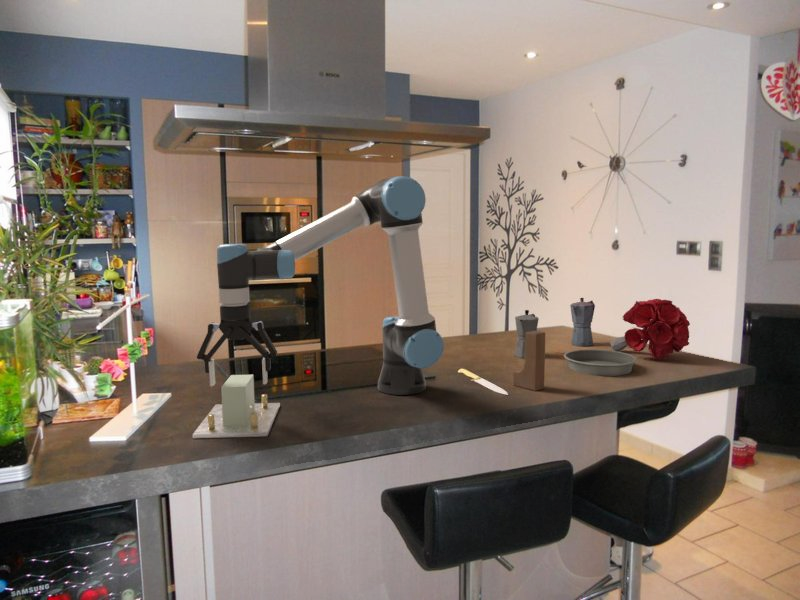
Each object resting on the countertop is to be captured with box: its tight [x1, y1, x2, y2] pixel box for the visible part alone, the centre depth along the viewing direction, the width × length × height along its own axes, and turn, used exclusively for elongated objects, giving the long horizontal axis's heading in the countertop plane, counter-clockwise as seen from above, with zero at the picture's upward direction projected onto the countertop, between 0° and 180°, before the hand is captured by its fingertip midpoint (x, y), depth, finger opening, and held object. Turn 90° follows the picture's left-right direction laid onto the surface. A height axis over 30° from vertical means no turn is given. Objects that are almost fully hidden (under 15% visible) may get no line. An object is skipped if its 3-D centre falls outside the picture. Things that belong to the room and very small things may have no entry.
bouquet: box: [610, 298, 691, 360], centre depth 229 cm, size 22×24×30 cm
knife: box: [457, 368, 509, 396], centre depth 195 cm, size 1×32×5 cm
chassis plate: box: [192, 393, 281, 439], centre depth 158 cm, size 18×24×4 cm
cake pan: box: [563, 348, 638, 377], centre depth 212 cm, size 25×25×4 cm
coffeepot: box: [514, 309, 539, 359], centre depth 232 cm, size 15×9×18 cm, turn 149°
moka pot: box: [569, 297, 596, 347], centre depth 252 cm, size 10×15×20 cm, turn 133°
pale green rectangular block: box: [220, 374, 256, 425], centre depth 157 cm, size 6×12×10 cm, turn 4°
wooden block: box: [512, 330, 546, 392], centre depth 188 cm, size 9×4×18 cm, turn 39°
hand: (239, 384), depth 157 cm, fingers open, 13 cm apart
